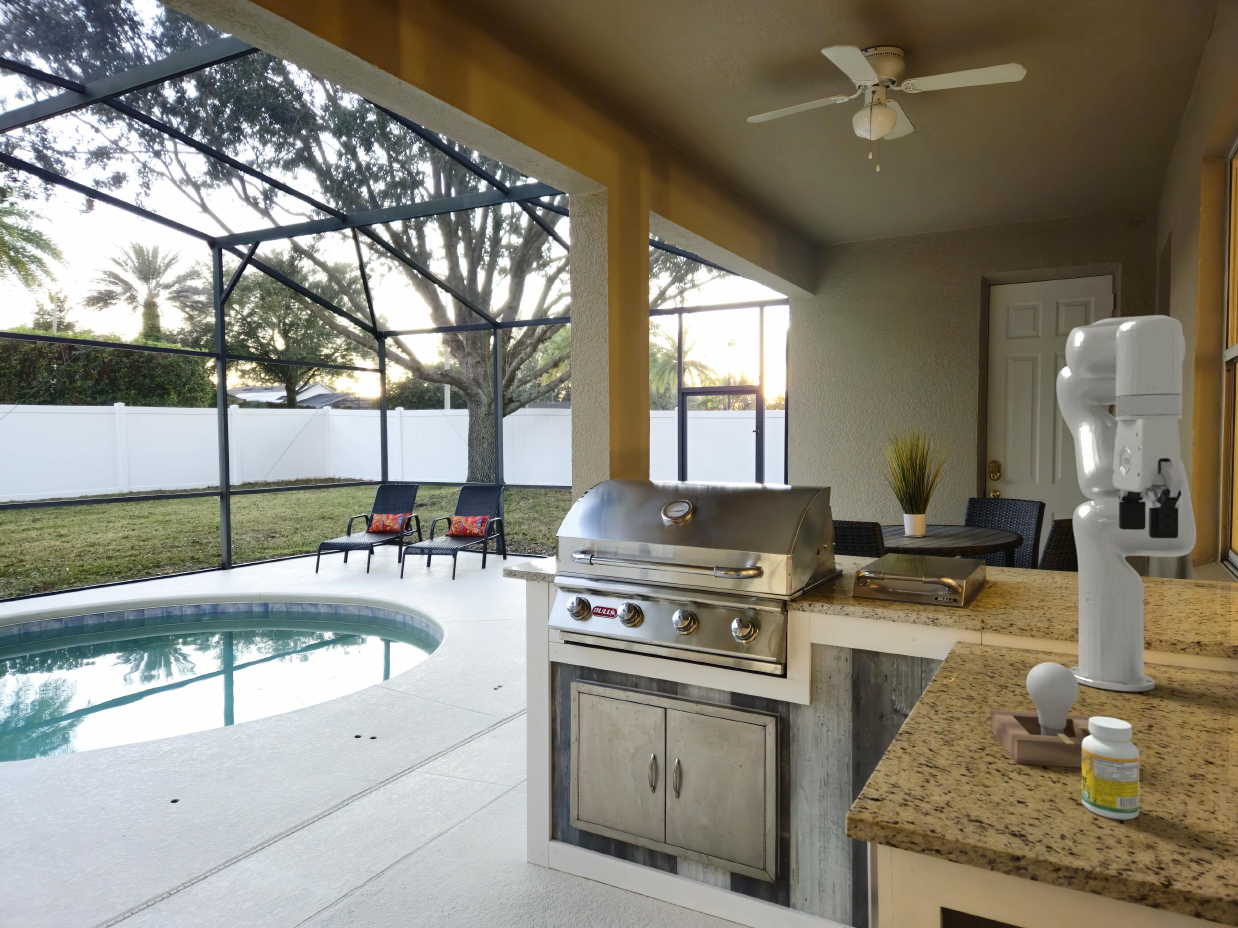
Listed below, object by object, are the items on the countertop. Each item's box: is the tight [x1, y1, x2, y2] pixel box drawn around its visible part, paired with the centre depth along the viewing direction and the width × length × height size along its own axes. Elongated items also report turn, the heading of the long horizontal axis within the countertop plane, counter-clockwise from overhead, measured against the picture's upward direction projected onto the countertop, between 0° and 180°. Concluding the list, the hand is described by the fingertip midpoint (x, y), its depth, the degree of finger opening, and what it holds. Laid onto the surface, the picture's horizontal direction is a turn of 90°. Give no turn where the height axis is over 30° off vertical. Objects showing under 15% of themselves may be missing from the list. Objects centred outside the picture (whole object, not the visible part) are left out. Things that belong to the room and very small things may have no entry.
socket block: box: [990, 709, 1092, 769], centre depth 102 cm, size 12×12×3 cm
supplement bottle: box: [1081, 716, 1140, 821], centre depth 84 cm, size 5×5×10 cm
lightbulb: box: [1025, 661, 1080, 736], centre depth 102 cm, size 6×6×11 cm
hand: (1147, 533), depth 106 cm, fingers open, 9 cm apart
